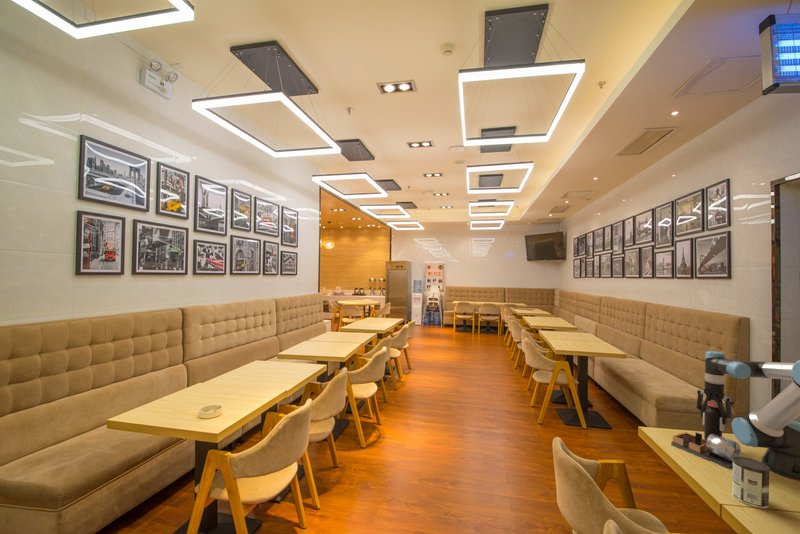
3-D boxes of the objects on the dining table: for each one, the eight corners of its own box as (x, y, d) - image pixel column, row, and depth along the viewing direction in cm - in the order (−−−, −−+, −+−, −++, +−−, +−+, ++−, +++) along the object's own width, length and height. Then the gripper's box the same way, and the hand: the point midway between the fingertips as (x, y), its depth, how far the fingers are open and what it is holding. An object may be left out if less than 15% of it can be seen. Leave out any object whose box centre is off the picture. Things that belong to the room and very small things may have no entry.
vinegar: (708, 437, 184) (709, 398, 185) (724, 443, 178) (725, 403, 178) (701, 439, 181) (702, 400, 182) (717, 445, 175) (718, 404, 176)
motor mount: (743, 463, 162) (744, 440, 163) (728, 469, 157) (729, 445, 157) (685, 440, 183) (686, 420, 183) (671, 444, 178) (672, 424, 178)
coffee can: (754, 493, 139) (755, 458, 139) (776, 511, 129) (778, 472, 129) (724, 489, 141) (725, 454, 141) (743, 506, 131) (745, 468, 131)
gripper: (742, 387, 173) (741, 434, 173) (696, 376, 191) (695, 419, 190) (734, 388, 170) (733, 436, 169) (688, 377, 188) (687, 421, 187)
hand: (713, 427), depth 180 cm, fingers closed on vinegar, 6 cm apart
